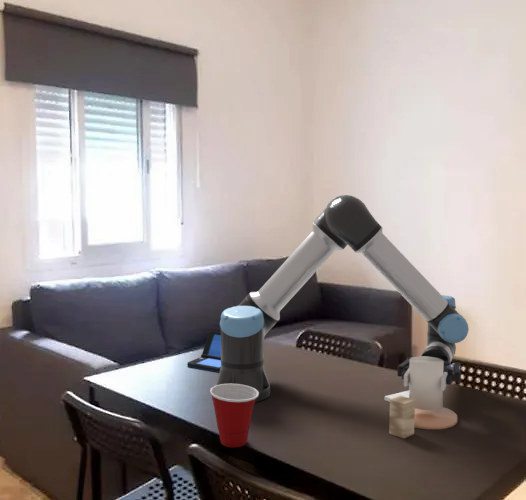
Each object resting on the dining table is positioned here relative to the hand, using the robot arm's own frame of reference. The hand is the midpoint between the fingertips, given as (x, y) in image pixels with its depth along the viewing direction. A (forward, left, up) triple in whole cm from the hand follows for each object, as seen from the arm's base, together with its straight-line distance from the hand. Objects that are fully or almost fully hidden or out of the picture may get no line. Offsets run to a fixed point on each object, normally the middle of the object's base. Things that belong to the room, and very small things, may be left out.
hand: (423, 383), depth 148 cm
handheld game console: (-67, -30, -10) cm, 74 cm away
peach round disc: (-3, +3, -10) cm, 11 cm away
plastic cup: (-7, -45, -10) cm, 47 cm away
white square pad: (-14, +7, -10) cm, 18 cm away
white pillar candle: (-3, +3, -6) cm, 8 cm away
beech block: (+3, -8, -10) cm, 13 cm away
